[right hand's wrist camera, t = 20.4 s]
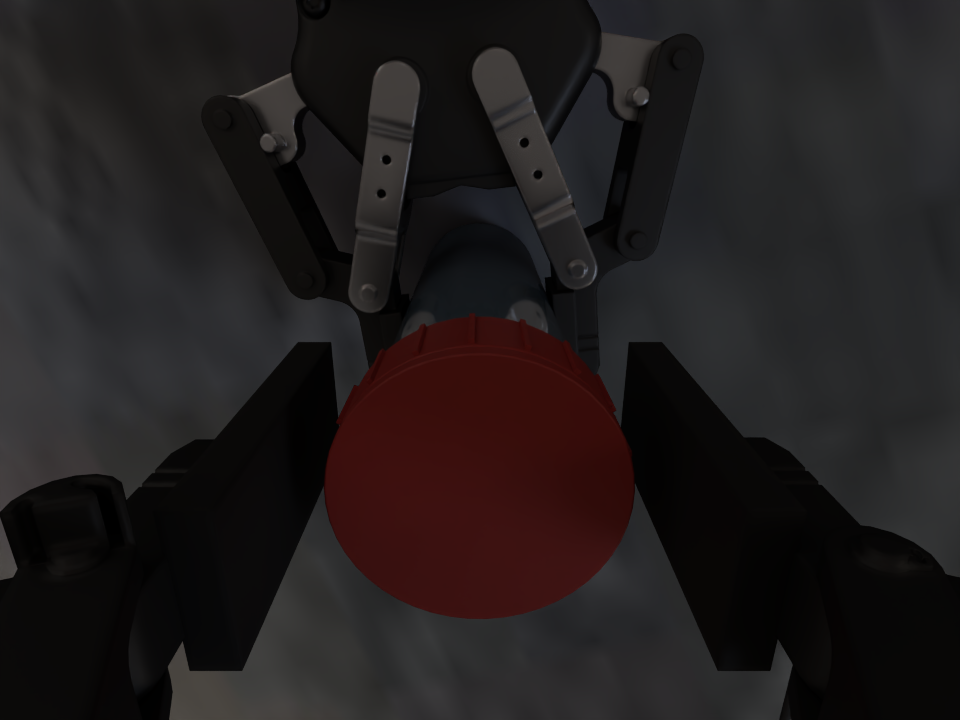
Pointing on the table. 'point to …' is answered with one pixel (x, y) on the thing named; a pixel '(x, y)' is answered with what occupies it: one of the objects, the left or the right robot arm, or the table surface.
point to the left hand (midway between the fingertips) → (487, 396)
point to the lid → (479, 470)
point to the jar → (479, 282)
